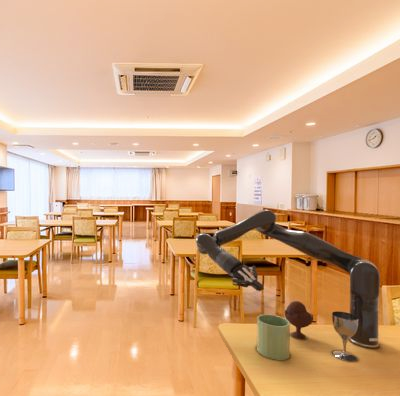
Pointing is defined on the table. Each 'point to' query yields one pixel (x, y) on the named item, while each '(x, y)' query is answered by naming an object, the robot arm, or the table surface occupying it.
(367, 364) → the table surface
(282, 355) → the tumbler
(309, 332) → the table surface
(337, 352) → the wine glass
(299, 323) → the ice cream bowl
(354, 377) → the table surface
